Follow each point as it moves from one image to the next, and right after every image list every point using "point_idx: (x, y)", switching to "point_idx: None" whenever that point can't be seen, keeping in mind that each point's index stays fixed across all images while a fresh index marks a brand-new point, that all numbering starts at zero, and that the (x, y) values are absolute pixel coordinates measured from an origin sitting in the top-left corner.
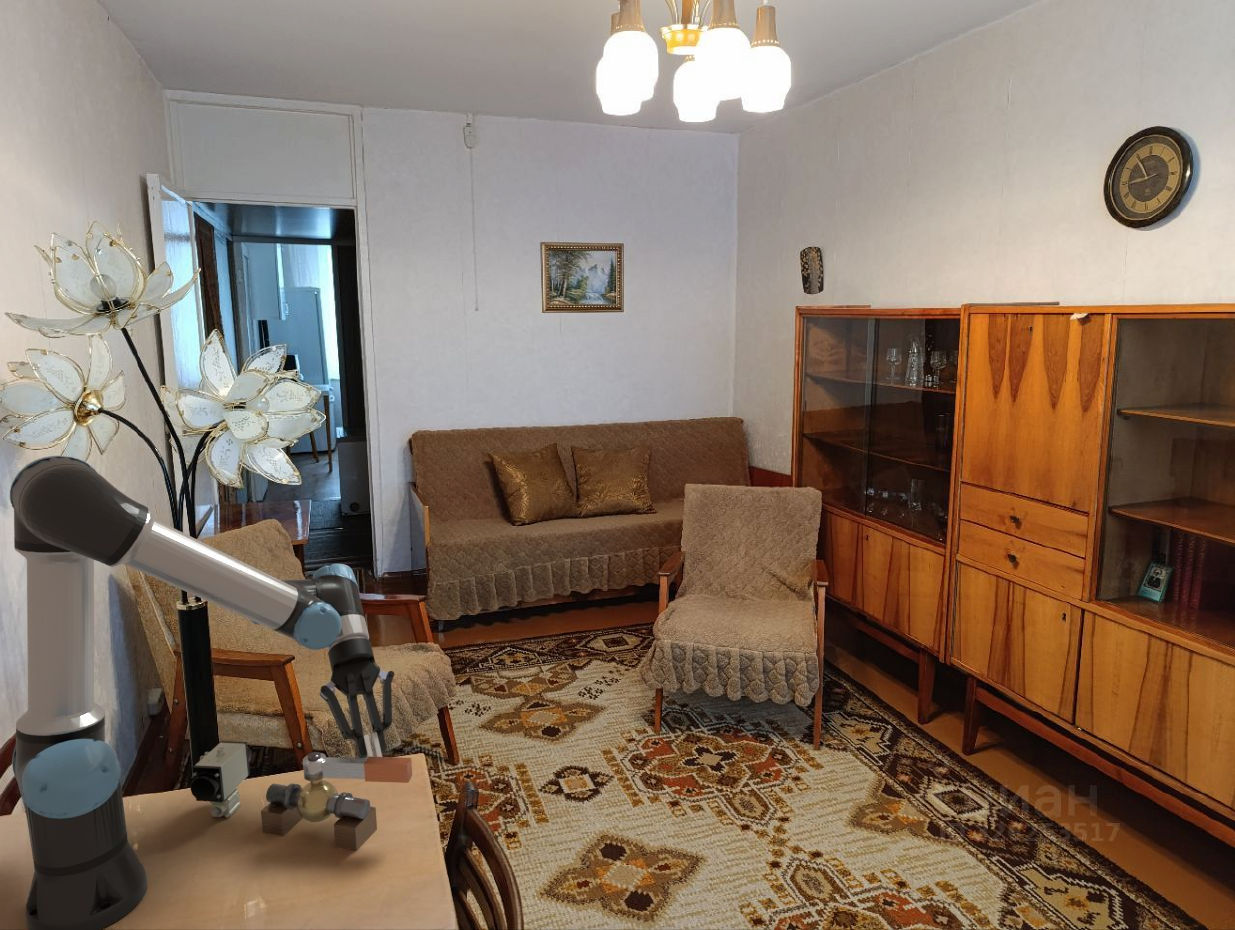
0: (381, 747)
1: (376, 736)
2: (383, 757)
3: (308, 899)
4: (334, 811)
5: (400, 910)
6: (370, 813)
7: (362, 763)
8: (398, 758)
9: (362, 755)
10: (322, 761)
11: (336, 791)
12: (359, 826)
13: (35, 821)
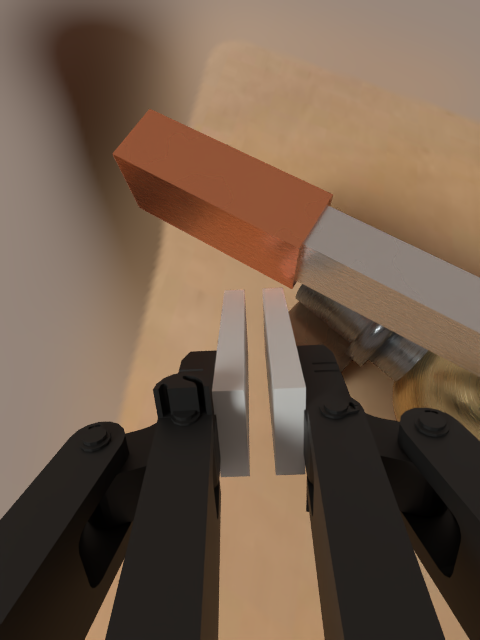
0: (209, 358)
1: (222, 372)
2: (230, 209)
3: (452, 165)
4: None
5: (281, 75)
6: (294, 306)
7: (337, 212)
8: (167, 170)
9: (317, 346)
10: None
11: (410, 381)
12: None
13: None
